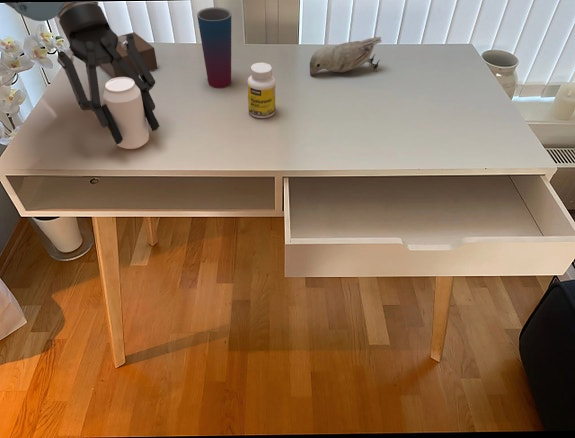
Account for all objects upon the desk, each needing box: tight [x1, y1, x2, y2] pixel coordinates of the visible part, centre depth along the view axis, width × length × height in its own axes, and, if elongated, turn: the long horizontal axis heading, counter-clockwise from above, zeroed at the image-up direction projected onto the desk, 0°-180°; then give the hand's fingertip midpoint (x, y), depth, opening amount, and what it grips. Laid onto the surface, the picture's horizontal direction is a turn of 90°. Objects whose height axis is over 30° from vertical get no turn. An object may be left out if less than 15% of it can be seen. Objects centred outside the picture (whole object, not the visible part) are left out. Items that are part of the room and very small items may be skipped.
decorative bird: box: [309, 36, 382, 76], centre depth 114 cm, size 5×16×8 cm, turn 105°
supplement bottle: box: [247, 62, 276, 119], centre depth 100 cm, size 5×5×10 cm
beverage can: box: [102, 77, 150, 150], centre depth 91 cm, size 6×6×12 cm
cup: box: [196, 6, 232, 89], centre depth 107 cm, size 7×7×15 cm
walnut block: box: [98, 31, 158, 79], centre depth 115 cm, size 10×10×5 cm
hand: (138, 135), depth 90 cm, fingers closed on beverage can, 6 cm apart
